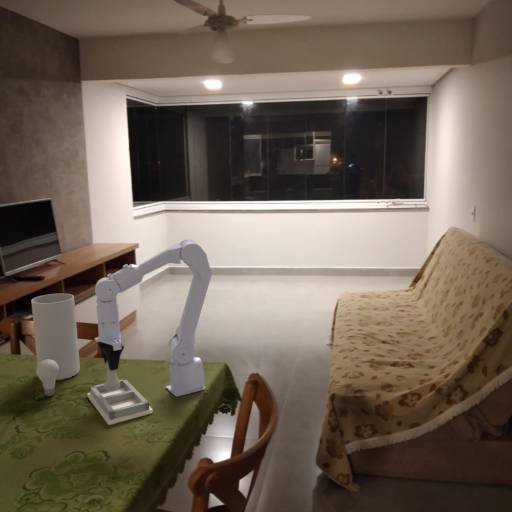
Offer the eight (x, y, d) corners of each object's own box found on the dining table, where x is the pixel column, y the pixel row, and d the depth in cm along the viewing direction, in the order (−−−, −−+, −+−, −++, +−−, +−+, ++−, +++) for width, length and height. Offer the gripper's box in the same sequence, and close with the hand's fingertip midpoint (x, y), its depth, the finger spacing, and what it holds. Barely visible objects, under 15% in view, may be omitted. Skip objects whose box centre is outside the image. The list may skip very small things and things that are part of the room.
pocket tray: (128, 386, 159) (127, 377, 159) (153, 412, 142) (152, 402, 141) (87, 396, 153) (86, 386, 152) (108, 425, 136) (107, 414, 135)
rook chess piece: (107, 384, 153) (105, 358, 152) (122, 384, 153) (121, 358, 151) (102, 391, 148) (100, 363, 147) (117, 391, 148) (116, 363, 147)
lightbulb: (53, 401, 150) (50, 364, 148) (34, 399, 152) (30, 363, 150) (65, 392, 156) (62, 356, 154) (46, 391, 157) (43, 355, 156)
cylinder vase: (72, 381, 164) (65, 303, 160) (32, 382, 164) (24, 303, 160) (85, 366, 176) (79, 293, 172) (48, 366, 177) (41, 293, 172)
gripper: (87, 317, 151) (90, 362, 154) (101, 330, 139) (105, 379, 142) (111, 313, 155) (114, 357, 157) (127, 325, 143) (130, 373, 145)
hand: (111, 367), depth 150 cm, fingers closed on rook chess piece, 3 cm apart
